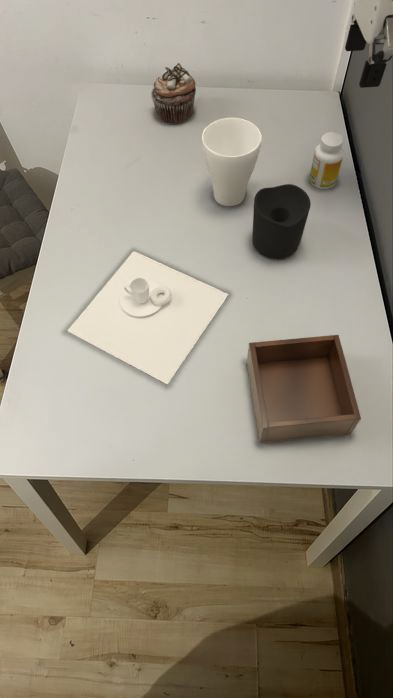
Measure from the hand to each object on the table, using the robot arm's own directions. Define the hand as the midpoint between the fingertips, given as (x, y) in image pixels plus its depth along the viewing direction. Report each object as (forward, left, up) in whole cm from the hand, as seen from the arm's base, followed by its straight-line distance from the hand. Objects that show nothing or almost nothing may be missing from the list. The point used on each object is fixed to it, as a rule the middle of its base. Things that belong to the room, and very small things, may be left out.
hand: (361, 67), depth 81 cm
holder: (+16, +47, -23) cm, 54 cm away
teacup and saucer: (+38, +29, -23) cm, 53 cm away
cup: (+21, +3, -23) cm, 31 cm away
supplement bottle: (+2, +1, -23) cm, 23 cm away
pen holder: (+14, +16, -23) cm, 31 cm away
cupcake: (+30, -24, -23) cm, 45 cm away
